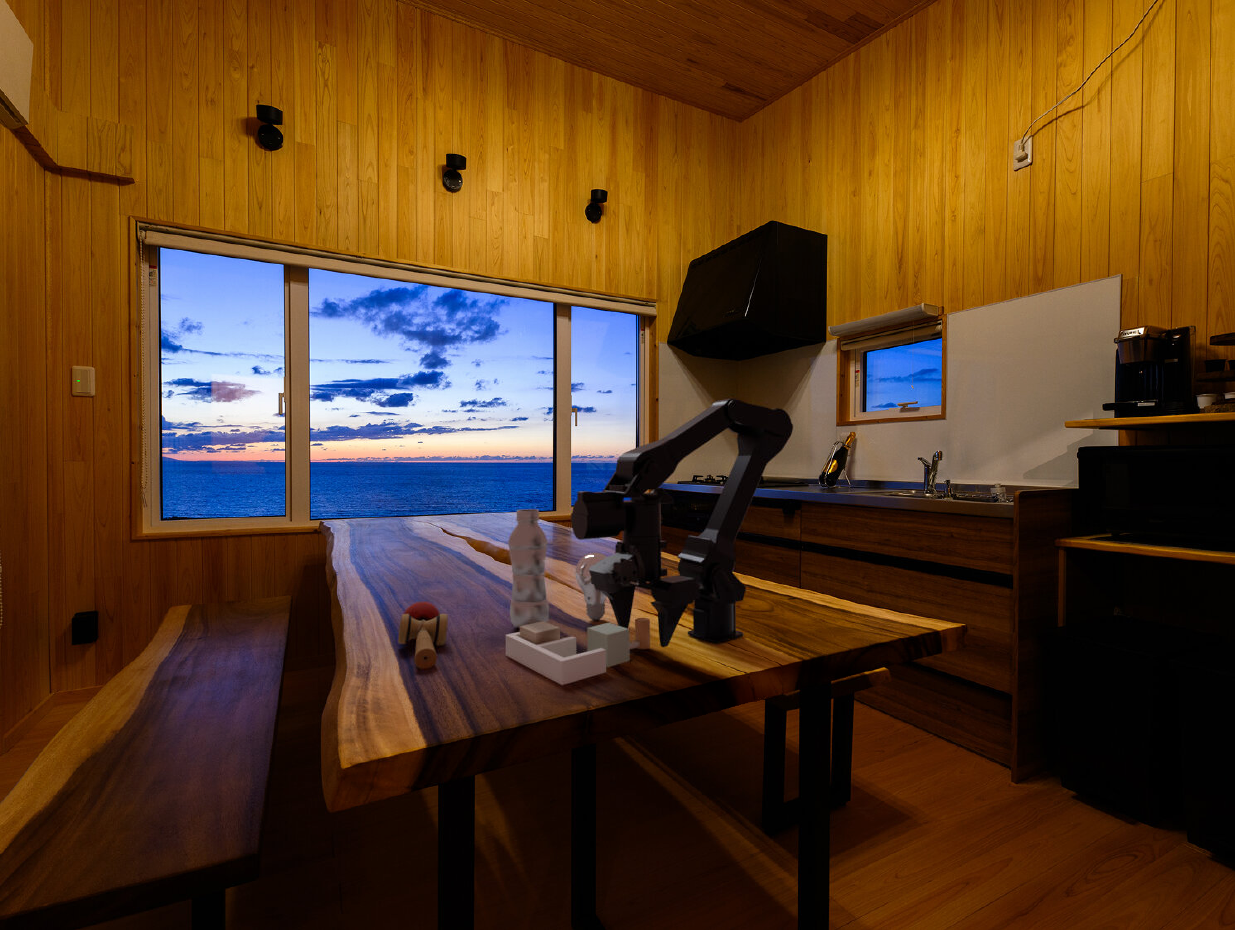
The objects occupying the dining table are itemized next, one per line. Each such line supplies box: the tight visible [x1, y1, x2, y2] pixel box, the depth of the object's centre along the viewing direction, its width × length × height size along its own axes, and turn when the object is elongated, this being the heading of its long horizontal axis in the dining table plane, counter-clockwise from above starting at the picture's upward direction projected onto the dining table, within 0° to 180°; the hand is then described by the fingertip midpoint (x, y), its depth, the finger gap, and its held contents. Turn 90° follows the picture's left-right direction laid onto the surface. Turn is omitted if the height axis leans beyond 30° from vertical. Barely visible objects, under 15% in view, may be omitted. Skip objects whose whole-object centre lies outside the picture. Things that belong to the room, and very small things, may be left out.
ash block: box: [519, 621, 561, 645], centre depth 85 cm, size 4×4×4 cm
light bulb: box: [574, 552, 608, 622], centre depth 104 cm, size 7×7×12 cm
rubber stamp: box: [586, 617, 651, 668], centre depth 86 cm, size 10×4×4 cm, turn 130°
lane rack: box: [505, 631, 607, 686], centre depth 83 cm, size 7×15×3 cm, turn 38°
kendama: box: [397, 601, 449, 670], centre depth 90 cm, size 8×6×18 cm
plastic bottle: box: [507, 508, 550, 629], centre depth 101 cm, size 6×7×20 cm
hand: (643, 639), depth 88 cm, fingers open, 9 cm apart
